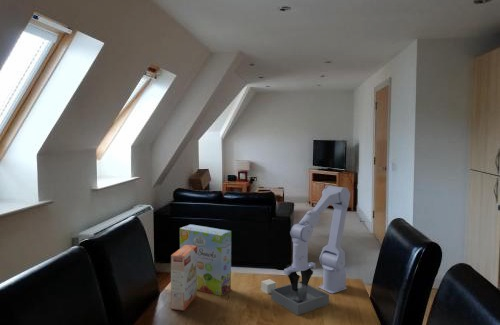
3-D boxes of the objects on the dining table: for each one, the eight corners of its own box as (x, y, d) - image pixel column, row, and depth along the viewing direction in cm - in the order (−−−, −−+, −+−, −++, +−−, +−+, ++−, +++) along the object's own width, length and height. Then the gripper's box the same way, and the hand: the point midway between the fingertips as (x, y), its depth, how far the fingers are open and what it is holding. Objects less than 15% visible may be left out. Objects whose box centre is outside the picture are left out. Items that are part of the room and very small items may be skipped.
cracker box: (185, 311, 138) (185, 256, 136) (170, 309, 139) (169, 255, 137) (198, 295, 151) (198, 245, 150) (184, 294, 153) (183, 244, 151)
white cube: (269, 288, 160) (269, 279, 160) (275, 291, 156) (276, 282, 156) (260, 290, 157) (261, 281, 157) (267, 294, 154) (267, 284, 153)
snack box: (178, 286, 160) (178, 227, 158) (190, 279, 168) (190, 223, 166) (221, 297, 150) (221, 234, 148) (232, 289, 158) (232, 229, 156)
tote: (301, 290, 158) (301, 281, 157) (328, 304, 145) (329, 294, 144) (270, 299, 149) (271, 289, 149) (297, 315, 136) (297, 304, 135)
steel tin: (298, 294, 150) (299, 282, 150) (306, 298, 146) (306, 285, 146) (290, 297, 148) (290, 284, 147) (297, 301, 144) (298, 288, 144)
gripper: (307, 249, 153) (306, 281, 154) (279, 255, 145) (278, 289, 146) (319, 254, 147) (318, 287, 148) (291, 260, 139) (290, 296, 140)
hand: (299, 289), depth 146 cm, fingers closed on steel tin, 4 cm apart
